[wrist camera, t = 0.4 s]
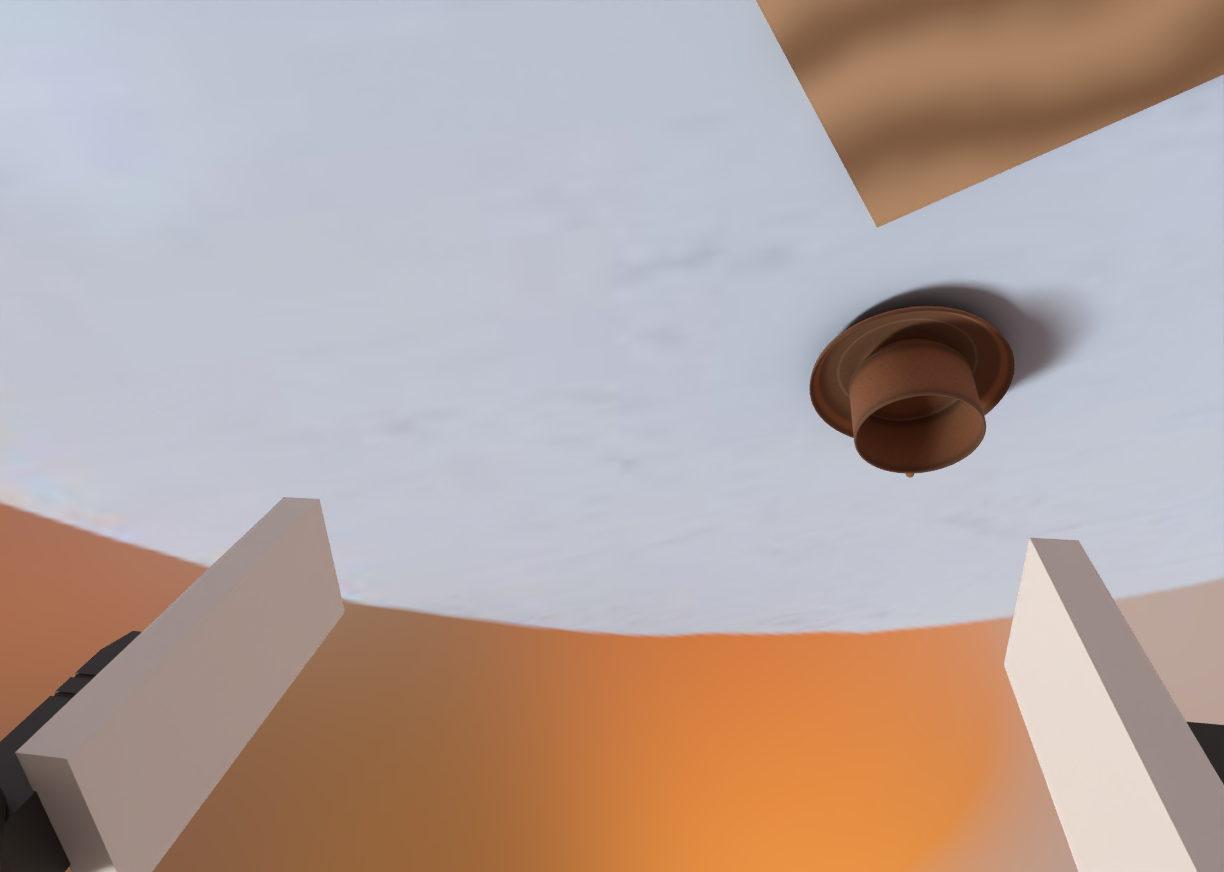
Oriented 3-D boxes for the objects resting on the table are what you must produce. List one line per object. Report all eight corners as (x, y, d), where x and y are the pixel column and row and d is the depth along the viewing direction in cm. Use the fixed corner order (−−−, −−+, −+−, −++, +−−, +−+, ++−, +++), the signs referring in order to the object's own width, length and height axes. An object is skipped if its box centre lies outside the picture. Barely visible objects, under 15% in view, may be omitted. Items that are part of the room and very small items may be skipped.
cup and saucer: (1025, 390, 54) (1049, 466, 50) (844, 440, 59) (853, 512, 55) (981, 259, 46) (1005, 336, 42) (778, 330, 52) (783, 404, 48)
